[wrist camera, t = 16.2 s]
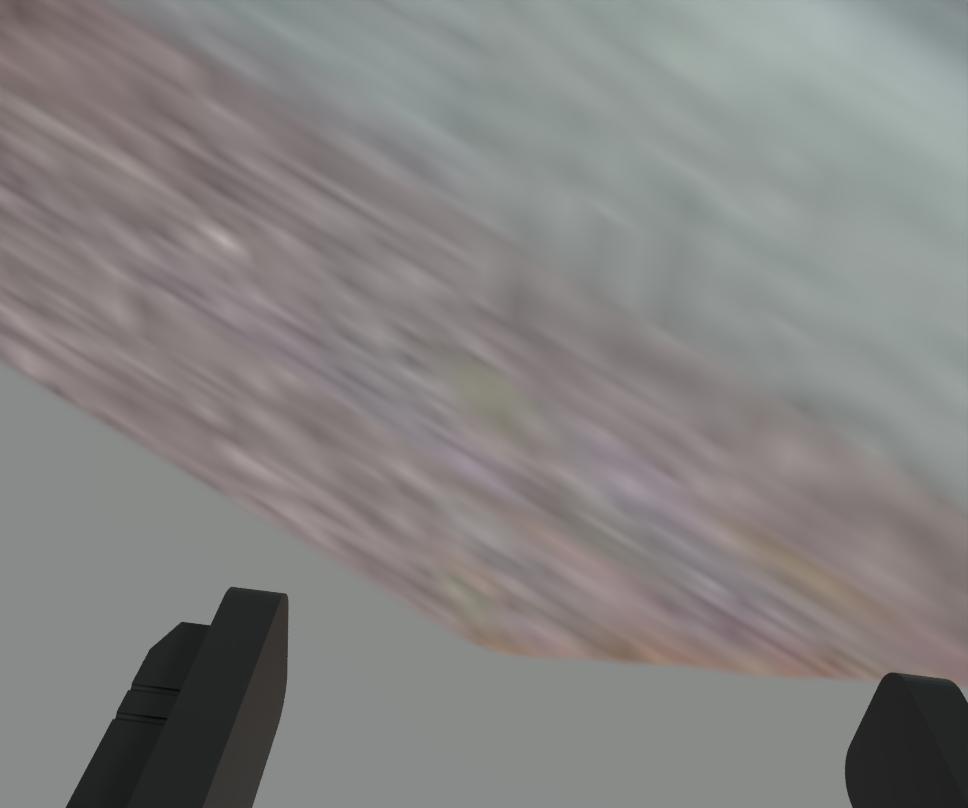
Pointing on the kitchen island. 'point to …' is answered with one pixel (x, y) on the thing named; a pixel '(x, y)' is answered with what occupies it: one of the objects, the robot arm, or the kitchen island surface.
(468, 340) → the kitchen island surface
